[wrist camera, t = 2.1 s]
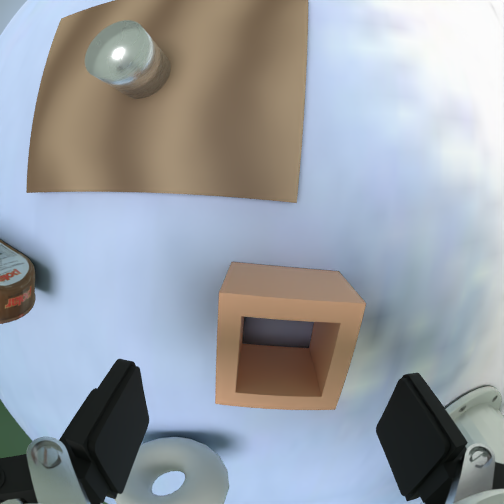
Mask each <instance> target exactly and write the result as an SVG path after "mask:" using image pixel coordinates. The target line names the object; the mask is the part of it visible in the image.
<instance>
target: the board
mask: <svg viewBox="0 0 504 504" xmlns="http://www.w3.org/2000/svg"><path fill="white" fill-rule="evenodd" d="M124 20H131V21H135V22H137V23H139V24H140V25H141V26H142V27H143V28H144V30H145V31H146V32H147V33H148V34H149V36H150V37H151V38H152V39H153V41H154V42H155V43H156V44H157V45H158V47H159V48H160V49H161V50H162V52H163V53H164V54H165V55H166V57H167V58H168V60H169V62H170V67H171V69H170V75H169V77H168V79H167V81H166V83H165V84H164V85H163V87H162V88H161V89H160V90H158V91H157V92H156V93H154V94H153V95H151V96H149V97H146V98H141V99H134V98H131V97H128V96H127V95H125V94H123V93H122V92H120V91H118V90H117V89H115V88H113V87H112V86H110V85H108V84H107V83H105V82H103V81H101V80H100V79H98V78H96V77H94V76H93V75H91V74H90V73H89V72H88V71H87V69H86V67H85V55H86V52H87V49H88V47H89V45H90V43H91V42H92V41H93V39H94V38H95V37H96V36H97V35H98V34H99V33H100V32H101V31H102V30H103V29H105V28H106V27H108V26H110V25H111V24H114V23H116V22H119V21H124ZM307 36H308V0H115V1H111V2H108V3H104V4H101V5H98V6H95V7H91V8H89V9H86V10H83V11H80V12H77V13H75V14H72V15H69V16H67V17H64V18H62V19H61V21H60V23H59V26H58V28H57V31H56V34H55V36H54V39H53V42H52V45H51V48H50V51H49V55H48V58H47V61H46V65H45V68H44V72H43V76H42V80H41V84H40V88H39V92H38V97H37V102H36V107H35V112H34V118H33V124H32V131H31V138H30V147H29V157H28V170H27V193H33V192H86V191H92V192H148V193H173V194H193V195H210V196H224V197H238V198H250V199H262V200H273V201H283V202H293V203H297V194H298V183H299V172H300V160H301V147H302V134H303V120H304V104H305V86H306V65H307Z"/></svg>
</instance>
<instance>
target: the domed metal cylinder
mask: <svg viewBox="0 0 504 504" xmlns="http://www.w3.org/2000/svg"><path fill="white" fill-rule="evenodd" d="M85 67H86V69H87V71H88V72H89V73H90V74H91V75H93V76H94V77H96V78H98V79H100V80H101V81H103V82H105V83H107V84H108V85H110V86H112V87H113V88H115V89H117V90H118V91H120V92H122V93H123V94H125V95H127V96H128V97H131V98H134V99H141V98H146V97H149V96H151V95H153V94H154V93H156V92H157V91H158V90H160V89H161V88H162V87H163V85H164V84H165V83H166V81H167V79H168V77H169V75H170V69H171V67H170V62H169V60H168V58H167V57H166V55H165V54H164V53H163V52H162V50H161V49H160V48H159V47H158V45H157V44H156V43H155V42H154V41H153V39H152V38H151V37H150V36H149V34H148V33H147V32H146V31H145V30H144V28H143V27H142V26H141V25H140V24H139V23H137V22H135V21H131V20H124V21H119V22H116V23H114V24H111V25H110V26H108V27H106V28H105V29H103V30H102V31H101V32H100V33H99V34H98V35H97V36H96V37H95V38H94V39H93V41H92V42H91V43H90V45H89V47H88V49H87V52H86V55H85Z"/></svg>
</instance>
